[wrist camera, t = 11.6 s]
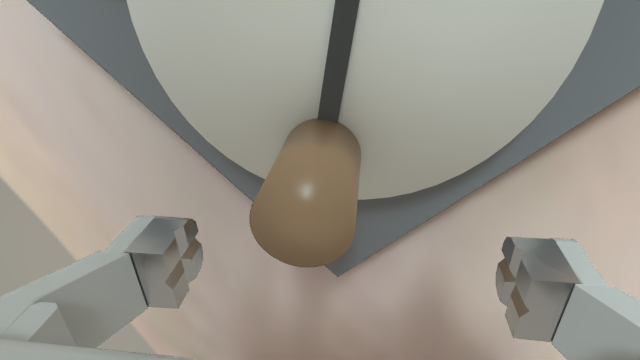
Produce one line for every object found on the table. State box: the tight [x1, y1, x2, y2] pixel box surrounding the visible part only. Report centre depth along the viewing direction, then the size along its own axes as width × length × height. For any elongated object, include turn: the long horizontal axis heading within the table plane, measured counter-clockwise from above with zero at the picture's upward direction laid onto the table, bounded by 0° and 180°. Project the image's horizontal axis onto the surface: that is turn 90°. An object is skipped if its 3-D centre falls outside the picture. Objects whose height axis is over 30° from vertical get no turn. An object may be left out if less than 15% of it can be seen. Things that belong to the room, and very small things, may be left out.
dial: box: [126, 0, 604, 267], centre depth 12 cm, size 16×16×6 cm
